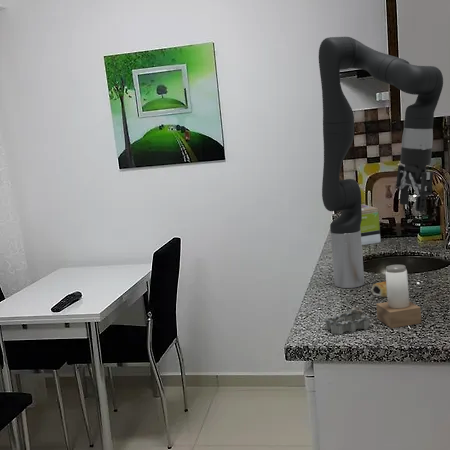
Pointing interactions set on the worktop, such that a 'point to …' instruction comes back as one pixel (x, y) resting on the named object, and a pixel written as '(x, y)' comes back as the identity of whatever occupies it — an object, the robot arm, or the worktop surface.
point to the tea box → (370, 225)
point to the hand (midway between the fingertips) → (411, 207)
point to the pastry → (379, 289)
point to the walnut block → (398, 315)
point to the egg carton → (348, 321)
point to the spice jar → (397, 286)
